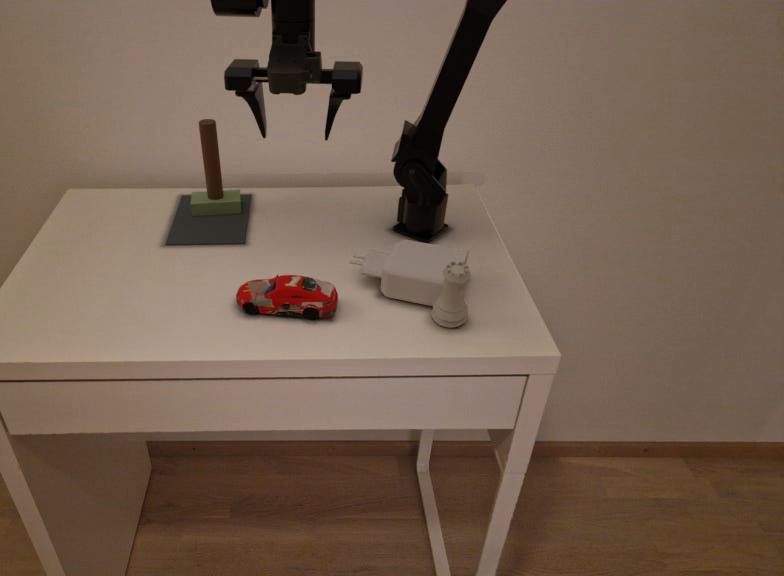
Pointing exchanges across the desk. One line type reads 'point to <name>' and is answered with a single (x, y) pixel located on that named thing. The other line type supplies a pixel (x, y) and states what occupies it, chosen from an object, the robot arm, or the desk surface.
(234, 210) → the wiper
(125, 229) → the desk surface
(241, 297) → the race car
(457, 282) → the rook chess piece
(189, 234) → the mat
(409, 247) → the charger
